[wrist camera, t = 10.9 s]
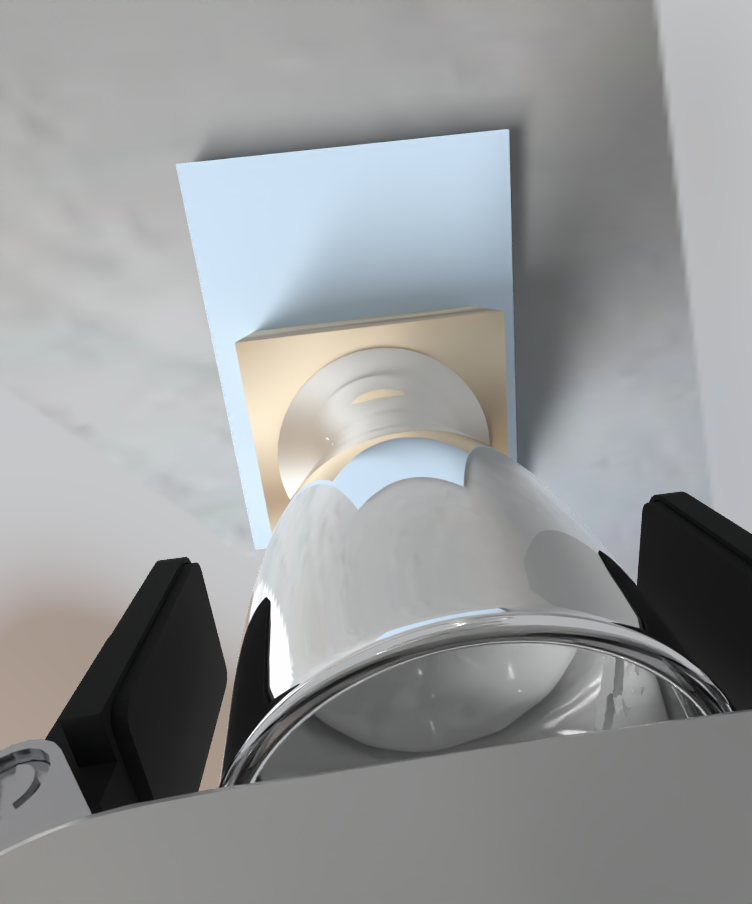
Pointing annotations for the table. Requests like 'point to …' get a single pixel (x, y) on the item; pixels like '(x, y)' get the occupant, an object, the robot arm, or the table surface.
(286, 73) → the table surface
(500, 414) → the plinth
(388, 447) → the beer glass
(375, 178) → the blueprint board
